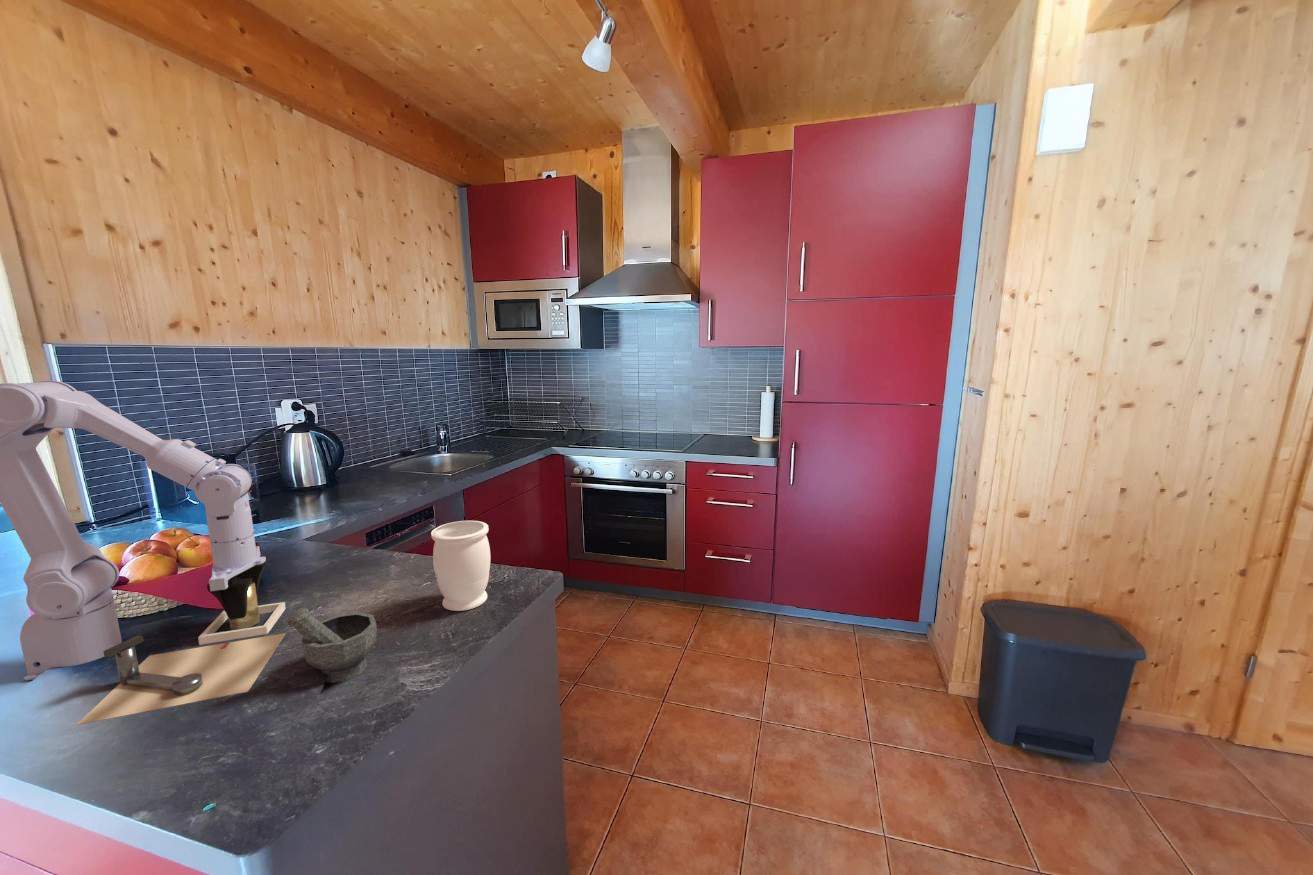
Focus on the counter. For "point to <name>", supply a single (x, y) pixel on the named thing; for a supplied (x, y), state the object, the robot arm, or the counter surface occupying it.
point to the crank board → (218, 665)
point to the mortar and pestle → (336, 642)
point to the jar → (462, 563)
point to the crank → (132, 676)
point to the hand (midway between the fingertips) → (243, 611)
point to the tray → (213, 637)
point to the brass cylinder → (248, 611)
